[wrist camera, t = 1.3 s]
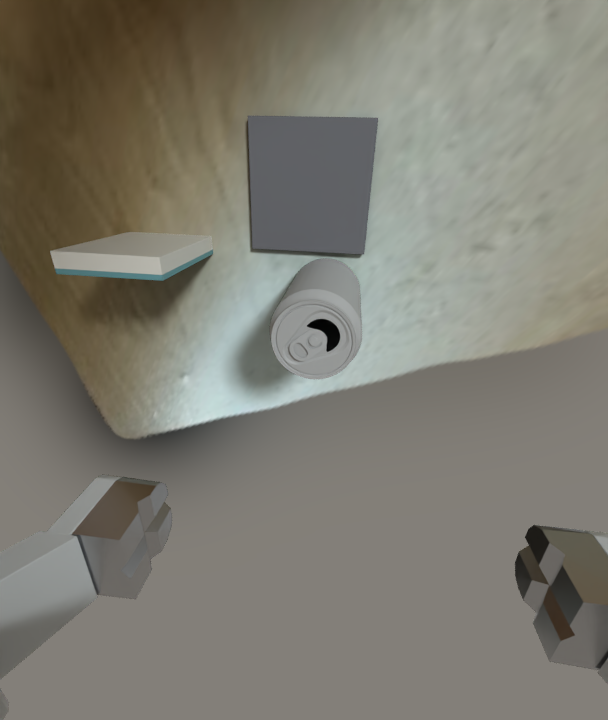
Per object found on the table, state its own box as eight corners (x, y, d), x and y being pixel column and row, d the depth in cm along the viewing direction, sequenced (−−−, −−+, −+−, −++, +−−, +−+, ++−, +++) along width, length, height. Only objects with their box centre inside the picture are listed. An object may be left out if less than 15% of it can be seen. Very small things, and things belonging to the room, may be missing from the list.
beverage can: (373, 298, 34) (382, 354, 23) (318, 334, 36) (304, 399, 25) (334, 242, 32) (324, 274, 21) (279, 283, 34) (245, 331, 24)
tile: (129, 231, 34) (49, 250, 25) (211, 235, 33) (159, 257, 24) (132, 249, 34) (56, 274, 26) (213, 253, 34) (162, 280, 25)
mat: (249, 116, 28) (247, 115, 28) (377, 119, 27) (377, 117, 27) (254, 247, 33) (252, 248, 32) (363, 253, 32) (364, 254, 31)
